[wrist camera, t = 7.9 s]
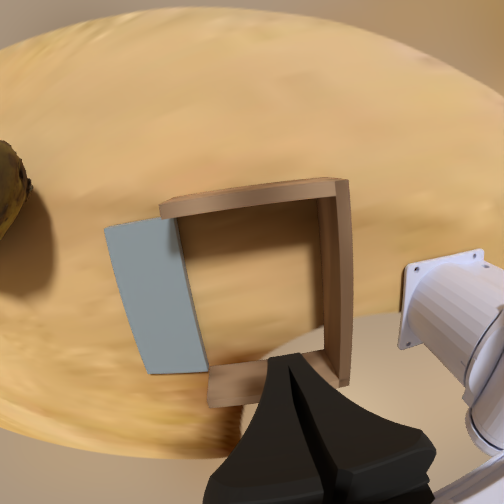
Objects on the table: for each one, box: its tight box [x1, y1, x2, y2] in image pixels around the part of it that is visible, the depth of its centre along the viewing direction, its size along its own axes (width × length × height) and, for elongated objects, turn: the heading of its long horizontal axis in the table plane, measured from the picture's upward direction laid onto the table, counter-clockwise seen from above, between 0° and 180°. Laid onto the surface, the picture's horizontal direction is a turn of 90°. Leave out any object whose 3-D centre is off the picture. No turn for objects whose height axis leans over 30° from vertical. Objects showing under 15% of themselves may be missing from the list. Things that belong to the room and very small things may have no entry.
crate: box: [159, 177, 353, 408], centre depth 19 cm, size 10×14×4 cm
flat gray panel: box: [104, 217, 209, 374], centre depth 20 cm, size 1×12×5 cm
